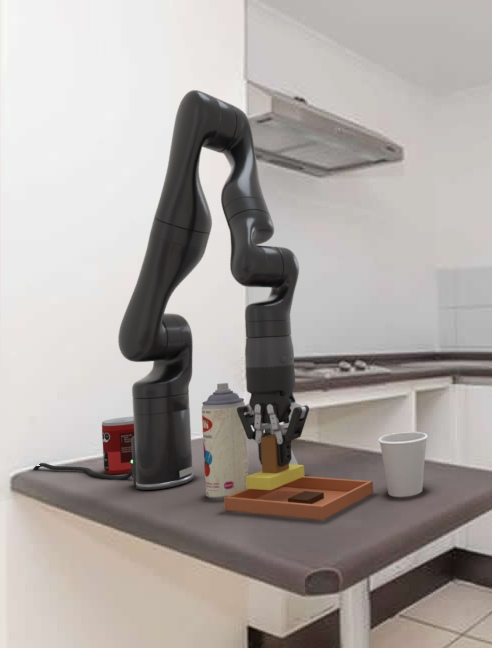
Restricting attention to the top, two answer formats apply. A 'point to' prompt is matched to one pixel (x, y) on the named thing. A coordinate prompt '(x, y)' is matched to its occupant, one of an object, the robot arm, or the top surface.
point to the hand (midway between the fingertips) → (275, 463)
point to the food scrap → (306, 497)
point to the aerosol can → (224, 444)
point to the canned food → (117, 444)
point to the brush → (272, 468)
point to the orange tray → (276, 500)
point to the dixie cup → (404, 462)
